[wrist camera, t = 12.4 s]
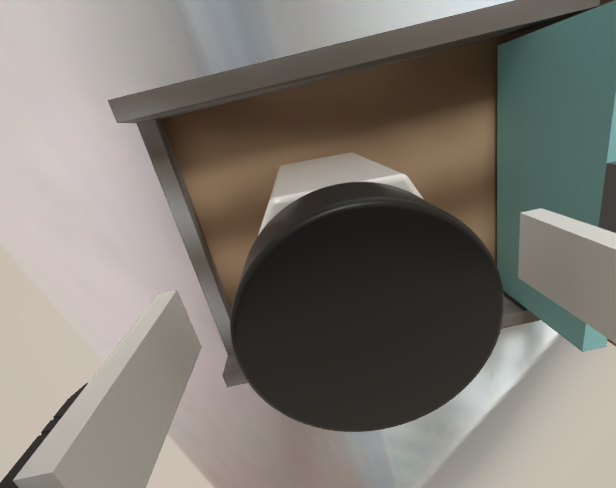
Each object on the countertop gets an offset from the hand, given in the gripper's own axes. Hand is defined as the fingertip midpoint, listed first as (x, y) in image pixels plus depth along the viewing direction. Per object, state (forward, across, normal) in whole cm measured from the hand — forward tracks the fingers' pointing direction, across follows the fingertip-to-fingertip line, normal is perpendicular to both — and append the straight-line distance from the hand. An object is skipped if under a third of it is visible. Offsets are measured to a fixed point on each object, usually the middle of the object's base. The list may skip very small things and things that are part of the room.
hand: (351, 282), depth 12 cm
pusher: (+9, +12, 0) cm, 15 cm away
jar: (+9, 0, 0) cm, 9 cm away
